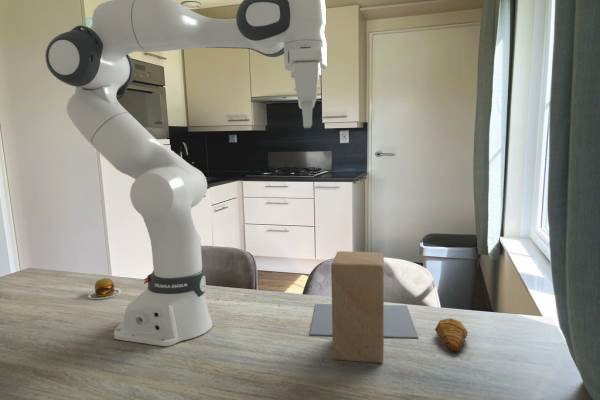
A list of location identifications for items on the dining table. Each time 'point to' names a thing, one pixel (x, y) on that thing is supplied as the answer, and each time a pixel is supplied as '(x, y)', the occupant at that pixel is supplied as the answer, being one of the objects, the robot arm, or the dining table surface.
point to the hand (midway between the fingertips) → (307, 127)
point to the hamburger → (104, 288)
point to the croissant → (451, 334)
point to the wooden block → (358, 306)
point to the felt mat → (394, 321)
